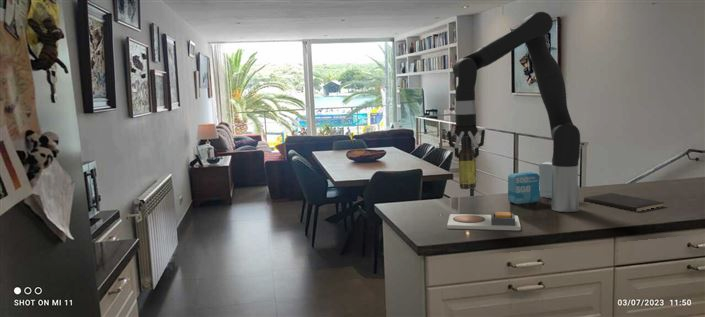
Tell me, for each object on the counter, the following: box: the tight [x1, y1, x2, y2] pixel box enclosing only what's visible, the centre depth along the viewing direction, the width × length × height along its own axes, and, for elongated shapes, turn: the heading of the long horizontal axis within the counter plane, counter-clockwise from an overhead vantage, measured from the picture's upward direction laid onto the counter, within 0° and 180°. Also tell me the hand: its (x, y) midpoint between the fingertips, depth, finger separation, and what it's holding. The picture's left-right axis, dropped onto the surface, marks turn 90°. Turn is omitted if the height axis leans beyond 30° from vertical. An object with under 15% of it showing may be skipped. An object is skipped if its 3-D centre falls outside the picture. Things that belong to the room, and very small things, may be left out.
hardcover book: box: [583, 192, 665, 213], centre depth 203 cm, size 16×23×2 cm
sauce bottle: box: [457, 136, 477, 190], centre depth 194 cm, size 6×6×20 cm
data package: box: [507, 171, 540, 205], centre depth 212 cm, size 12×4×12 cm, turn 106°
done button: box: [494, 211, 512, 218], centre depth 176 cm, size 5×5×2 cm
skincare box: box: [538, 161, 552, 199], centre depth 220 cm, size 8×6×15 cm
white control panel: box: [446, 212, 522, 231], centre depth 181 cm, size 24×16×4 cm, turn 76°
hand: (466, 157), depth 193 cm, fingers closed on sauce bottle, 6 cm apart
